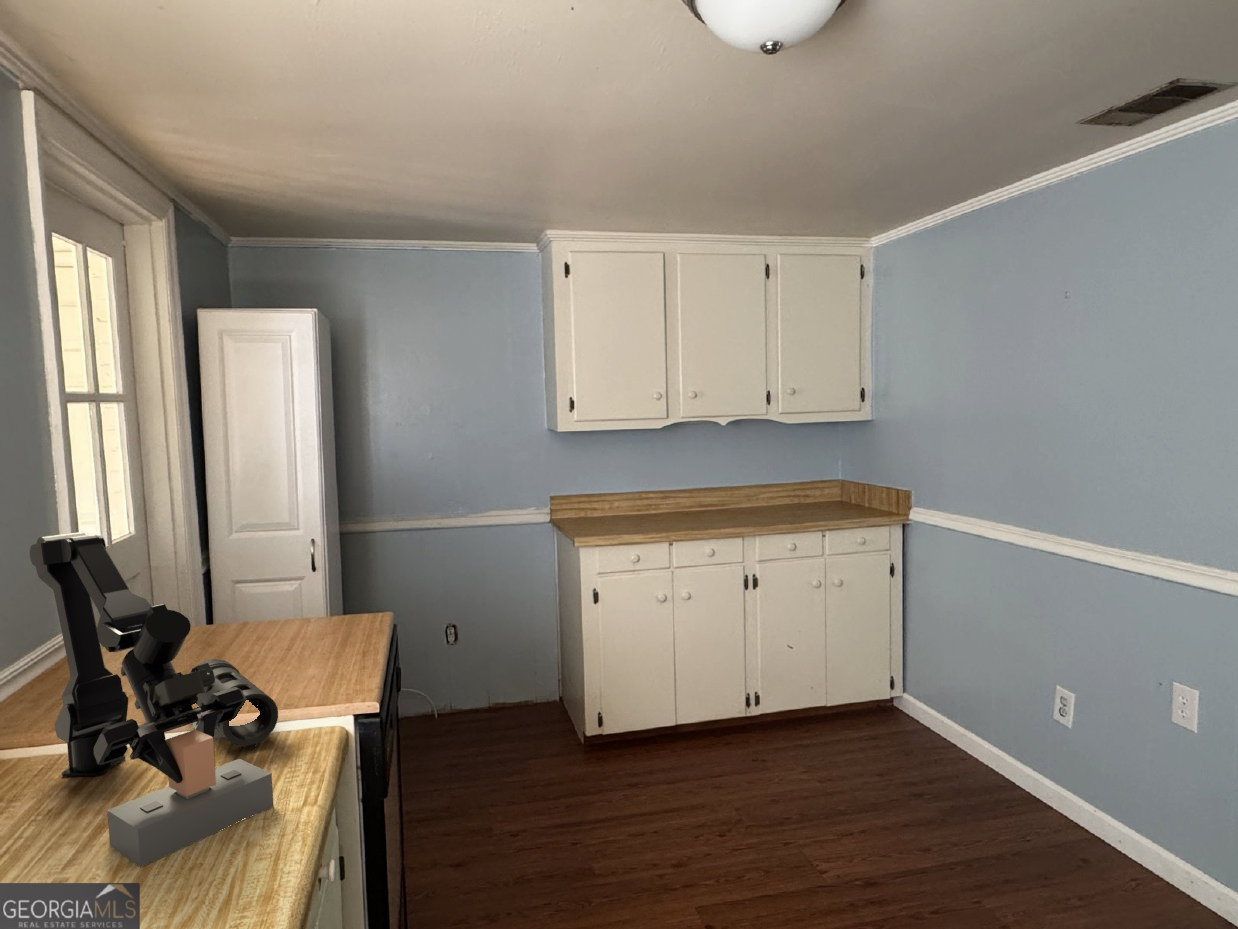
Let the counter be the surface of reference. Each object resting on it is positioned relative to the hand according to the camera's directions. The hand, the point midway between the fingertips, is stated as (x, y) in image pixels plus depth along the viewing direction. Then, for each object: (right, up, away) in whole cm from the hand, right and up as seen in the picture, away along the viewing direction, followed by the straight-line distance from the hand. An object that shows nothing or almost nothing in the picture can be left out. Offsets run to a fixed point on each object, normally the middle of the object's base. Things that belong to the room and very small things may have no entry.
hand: (196, 775), depth 106 cm
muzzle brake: (-14, -6, +36) cm, 39 cm away
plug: (-1, -7, +1) cm, 7 cm away
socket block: (-1, -8, +1) cm, 8 cm away
